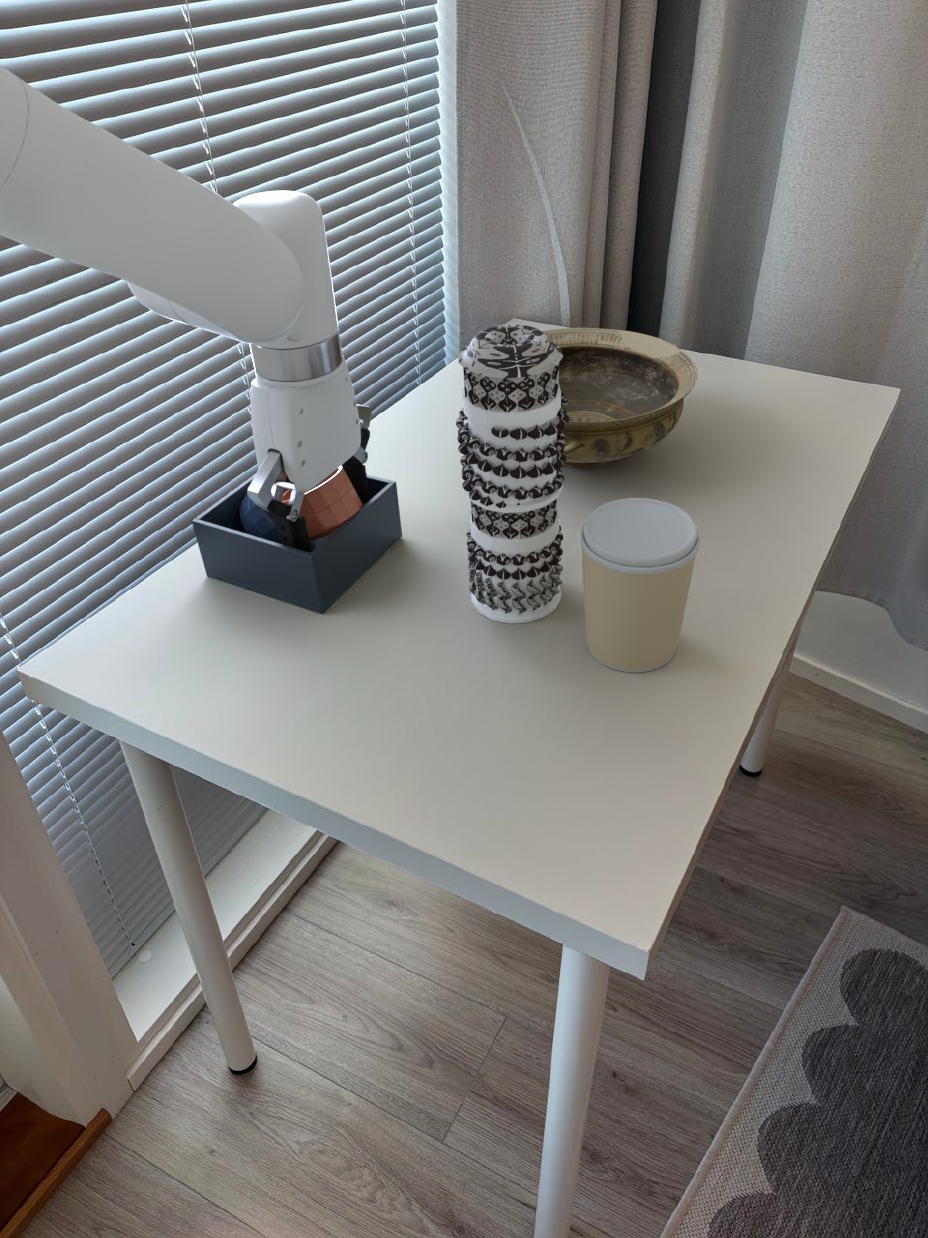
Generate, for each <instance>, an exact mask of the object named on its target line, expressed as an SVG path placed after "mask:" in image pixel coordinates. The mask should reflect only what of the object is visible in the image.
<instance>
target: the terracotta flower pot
mask: <svg viewBox="0 0 928 1238" xmlns="http://www.w3.org/2000/svg"><path fill="white" fill-rule="evenodd" d="M291 493H292V491H291V490H287V491H286V492H284V493H283V497H282V500H281V502H282V503H284V504H286V505H288V504H289V500H290V497H291ZM362 505H363V504H362V501H361V500H360V498H359V496H358V494H357V492H356V490H355V488H354V487H353V485H352V483H351V481H350V479H349V477H348V476H347V474H346V472H345V470H344V468H343V466H342V465H341V466H340V467H339V468H337V469H336V470H335V471H334V472H332V473H331V474H330V475H329V476H327V477H326V478H325V479H324V480H322V481H321V482H320V483H318V484H317V485H316V486H314V487H313V488H312V489H310V490H308V491H306V492H305V494H304V498H303V501H302V505H301V509H300V512H299V515H303V516H304V517H305V521H306V526H307V532H308V537H309V541H311V540H317V539H320V538H323V537H325V536H328V535H330V534H332V533H334V532H335V531H336V530H337V529H338V528H339V527H340V526H342V525H343V524H344V523H345V522H346V521H347V520H348V519H349V518H351V517H352V516H353V515H354V514H355V513H356V512H358V511H359V510H360V508H361V507H362Z"/></svg>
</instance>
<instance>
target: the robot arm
mask: <svg viewBox="0 0 928 1238" xmlns="http://www.w3.org/2000/svg"><path fill="white" fill-rule="evenodd" d="M326 234H327V233H326V227H325V221H324V216H323V212H322V209H321V206H320V204H319V203H318V202H317V201H316V200H315V199H314V198H313V197H312V196H311V195H308V194H307V193H305V192H299V191H295V190H269V191H262V192H256V193H253V194H249V195H247V196H244V197H241V198H240V199H238V200H236V201H235V202H230V201H229V200H227V199H226V198H225V197H223V196H222V195H220V194H218V193H217V192H215V191H214V190H212V189H211V188H209V187H208V186H205V185H204V184H203V183H201V182H199V181H197V180H195V179H194V178H192V177H190V176H188V175H186V174H184V173H183V172H181V171H180V170H177V169H175V168H174V167H172V166H169V165H168V164H166V163H165V162H162V161H161V160H159V159H157V158H155V157H153V156H151V155H149V154H147V153H146V152H144V151H142V150H140V149H139V148H137V147H135V146H133V145H131V144H130V143H128V142H126V141H125V140H123V139H122V138H120V137H118V136H117V135H115V134H113V133H112V132H111V131H108V130H106V129H104V128H103V127H102V126H99V125H97V124H95V123H94V122H91V121H89V120H87V119H85V118H83V117H82V116H79V115H78V114H76V113H74V112H72V111H71V110H69V109H67V108H66V107H63V106H62V105H61V104H59V102H56V101H55V100H53V99H51V98H50V97H49V96H47V95H46V94H45V93H42V92H41V91H39V90H38V89H37V88H35V87H33V86H32V85H31V84H29V83H28V82H26V81H25V80H23V79H22V78H20V77H19V76H18V75H16V74H14V73H13V72H11V71H10V70H8V69H7V68H5V67H4V66H2V65H1V64H0V236H2V237H3V238H7V239H9V240H12V241H14V242H16V243H19V244H21V245H23V246H25V247H27V248H30V249H32V250H35V251H36V252H40V253H43V254H45V255H47V256H51V257H53V258H56V259H60V260H63V261H66V262H69V263H73V264H75V265H80V266H82V267H86V268H89V269H92V270H95V271H98V272H101V273H105V274H106V275H107V274H108V275H110V276H111V277H112V276H113V277H115V278H117V279H120V280H123V281H125V282H126V283H127V286H128V288H129V290H130V292H131V293H132V294H133V296H134V297H135V299H137V301H138V302H139V303H141V305H143V306H144V307H145V308H147V309H148V310H149V311H151V312H152V313H155V314H156V315H159V316H161V317H163V318H166V319H168V320H171V321H174V322H178V323H179V324H184V325H187V326H191V327H194V328H196V329H200V330H204V331H208V332H211V333H213V334H216V335H219V336H223V337H225V338H227V339H231V340H234V341H237V342H241V343H244V344H248V345H249V348H250V354H251V359H252V364H253V369H254V374H255V378H253V379H252V380H251V382H250V416H251V428H252V430H251V431H252V438H253V445H254V451H255V458H256V462H257V468H258V470H257V471H256V473H257V474H256V473H255V474H256V475H255V477H254V479H253V481H252V482H251V484H250V486H249V487H248V490H247V494H248V496H249V497H250V498H251V499H252V501H253V502H254V503H255V504H256V505H257V508H258V509H259V510H261V511H263V512H266V513H267V514H269V515H272V516H273V517H274V522H275V527H276V531H277V536H278V541H279V544H282V545H286V546H289V547H292V548H296V549H299V550H303V551H306V552H310V549H311V548H310V543H309V537H308V532H307V526H306V521H305V517H304V516H303V515H299V512H300V509H301V505H302V501H303V498H304V494H305V492H306V491H308V490H310V489H312V488H313V487H314V486H316V485H317V484H318V483H320V482H321V481H322V480H324V479H325V478H326V477H327V476H329V475H330V474H331V473H332V472H334V471H335V470H336V469H337V468H339V467H340V466H341V465H342V466H343V468H344V470H345V472H346V474H347V476H348V477H349V479H350V481H351V483H352V485H353V487H354V488H355V490H356V492H357V494H358V496H359V498H360V500H361V501H362V503H366V502H367V501H368V500H369V490H368V483H367V475H368V474H367V468H366V465H365V464H366V463H367V462H368V459H369V453H368V451H366V450H367V447H368V444H369V440H370V438H371V431H370V430H369V428H370V426H371V419H372V412H373V409H372V406H368V405H364V404H360V403H359V404H358V403H357V400H356V395H355V390H354V385H353V382H352V378H351V374H350V371H349V368H348V364H347V362H346V359H345V355H344V354H343V349H342V342H341V336H340V328H339V319H338V313H337V306H336V299H335V292H334V283H333V276H332V271H331V270H332V269H331V263H330V255H329V249H328V248H329V247H328V241H327V235H326ZM366 474H367V475H366ZM287 476H288V478H289V479H290V481H291V482H294V484H293V483H289V482H285V480H286V477H287ZM284 489H287V490H291V491H292V493H291V497H290V500H289V504H288V505H286V504H284V503H282V502H281V500H282V497H283V493H284Z"/></svg>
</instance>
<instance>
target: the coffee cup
mask: <svg viewBox="0 0 928 1238" xmlns="http://www.w3.org/2000/svg"><path fill="white" fill-rule="evenodd" d="M579 542H580V546H581V558H582V559H581V564H582V565H581V566H582V585H583V586H582V587H583V603H584V605H583V606H584V607H583V608H584V625H585V626H584V627H585V636H586V637H585V638H586V645H587V646H586V647H587V649H588V652H589V653H590V654H591V655H592V657H593V658H594V659H595V660H596V661H597V662H598V663H600V664H601V665H603V666H604V667H607V668H609V669H612V670H614V671H615V670H616V671H619V672H625V673H645V672H650V671H654V670H657V669H659V668H662V667H663V666H665V665H666V664H667V663H669V662H670V661H671V659H672V658H673V656H674V655H675V654H676V651H677V647H678V644H679V640H680V635H681V629H682V626H683V621H684V616H685V612H686V606H687V602H688V597H689V591H690V587H691V582H692V577H693V573H694V569H695V562H696V556H697V553H698V551H699V548H700V544H701V535H700V531H699V529H698V527H697V524H696V522H695V519H693V518H692V516H691V515H690V514H689V513H688V512H686V511H685V510H684V509H683V508H681V507H679V506H676V505H675V504H672V503H669V502H667V501H663V500H659V499H653V498H646V497H628V498H627V497H626V498H621V499H616V500H612V501H608V502H606V503H604V504H601V505H600V506H598V507H596V508H595V509H593V510H592V511H591V512H590V513H589V515H587V517H586V519H585V520H584V523H582V525H581V528H580V532H579Z"/></svg>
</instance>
